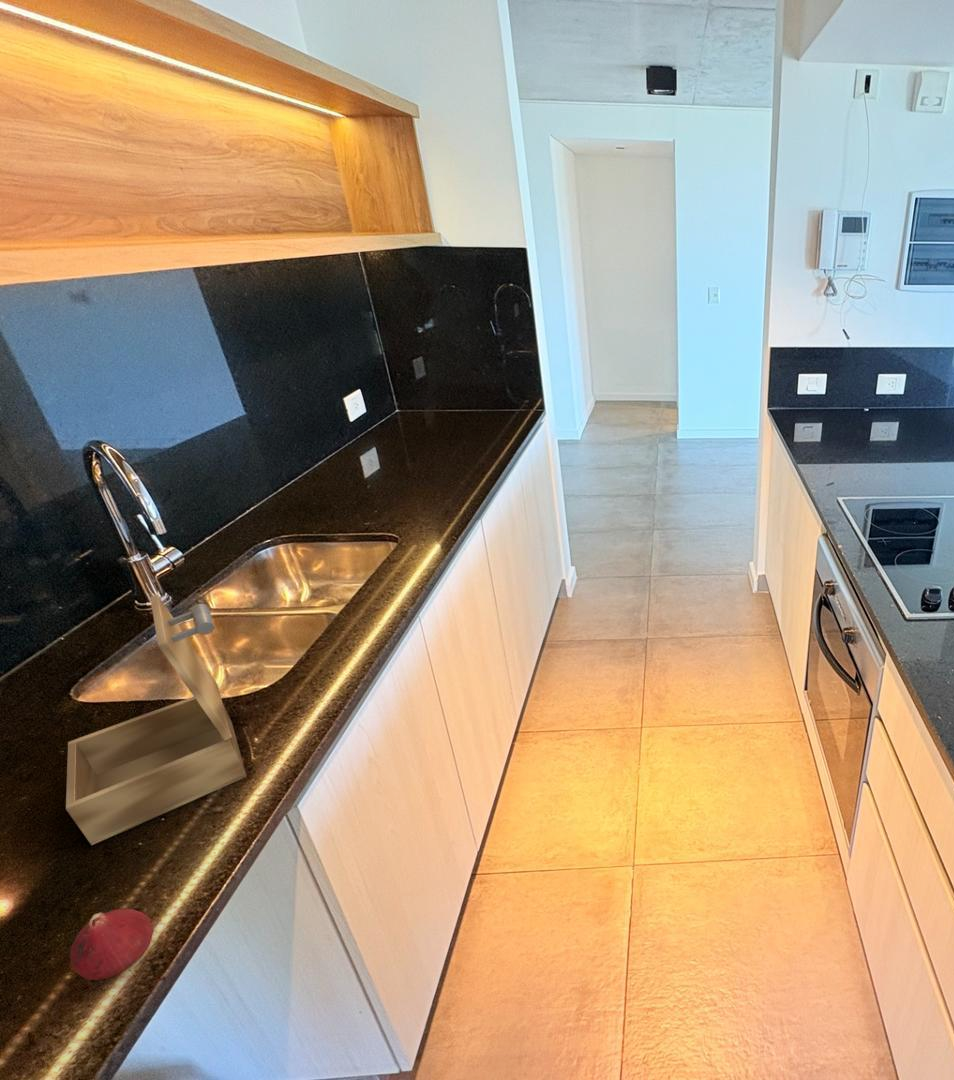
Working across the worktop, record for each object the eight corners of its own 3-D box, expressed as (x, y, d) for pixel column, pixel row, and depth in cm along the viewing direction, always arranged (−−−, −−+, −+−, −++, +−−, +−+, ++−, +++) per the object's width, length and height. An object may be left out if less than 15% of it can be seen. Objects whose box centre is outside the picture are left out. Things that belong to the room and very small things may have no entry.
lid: (157, 645, 71) (209, 625, 74) (149, 596, 80) (196, 580, 83) (224, 740, 80) (268, 719, 83) (211, 687, 89) (251, 670, 92)
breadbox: (92, 847, 74) (65, 809, 71) (91, 778, 83) (67, 741, 80) (247, 778, 84) (229, 741, 80) (232, 723, 92) (215, 688, 89)
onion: (115, 1005, 60) (76, 958, 56) (76, 983, 61) (35, 937, 57) (178, 945, 64) (146, 899, 61) (141, 926, 66) (107, 880, 62)
